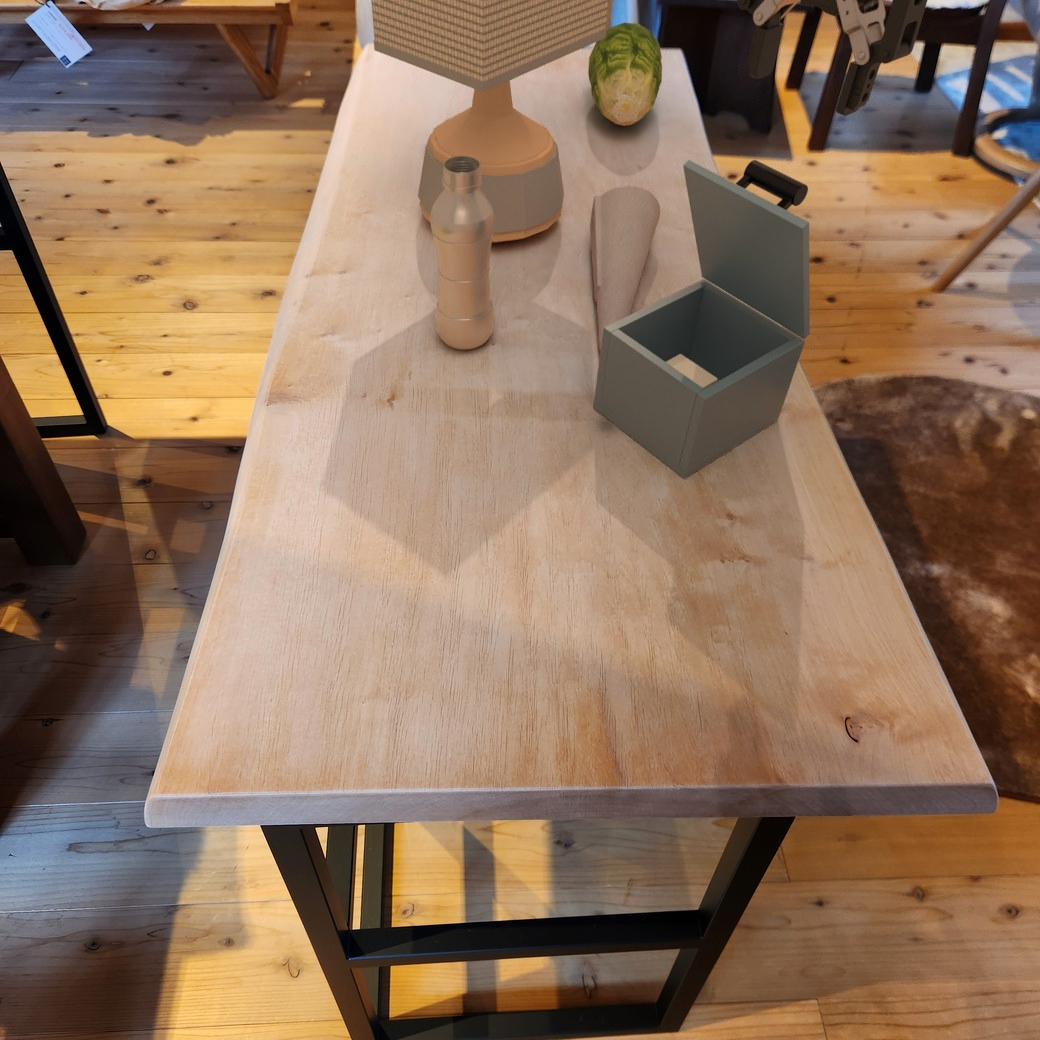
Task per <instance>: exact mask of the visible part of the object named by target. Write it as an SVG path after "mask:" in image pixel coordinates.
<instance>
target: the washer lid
mask: <svg viewBox="0 0 1040 1040" xmlns="http://www.w3.org/2000/svg"><path fill="white" fill-rule="evenodd" d="M682 168H683V174H684V179H685V184H686V191H687V196H688V202H689V208H690V213H691V215H690V216H691V220H692V221H691V222H692V226H693V231H694V238H695V244H696V249H697V255H698V256H697V257H698V261H699V267H700V274H701V277H702V279H705V280H706V281H708V282H709V283H711V284H713V285H714V286H716V287H718V288H719V289H721V290H723V291H724V292H726V293H727V294H729V295H731V296H732V297H734V298H736V299H737V300H739V301H741V302H742V303H744V304H745V305H747V306H749V307H750V308H752V309H754V310H755V311H757V312H759V313H760V314H762V315H763V316H765V317H767V318H768V319H770V320H772V321H773V322H775V323H777V324H778V325H780V326H782V327H783V328H785V329H786V330H788V331H790V332H791V333H793V334H795V335H796V336H797V337H799V338H801V339H803V340H805V339H806V338H807V337H809V336H810V334H811V333H810V332H811V330H810V329H811V328H810V327H811V326H810V324H811V322H810V321H811V320H810V318H811V317H810V316H811V315H810V314H811V312H810V307H811V306H810V305H811V303H810V302H811V301H810V300H811V299H810V297H811V296H810V295H811V294H810V291H811V290H810V289H811V288H810V222H809V221H808V220H806V219H804V218H802V217H800V216H799V215H797V214H794V213H792V212H790V211H788V210H789V209H790V208H791V207H792V206H794V207H798V206H800V205H801V204H802V203H803V202H804V200H805V199H806V197H807V194H808V192H809V186H808V185H807V184H805V183H804V182H801V181H799V180H797V179H795V178H793V177H791V176H789V175H788V174H785V173H783V172H781V171H779V170H777V169H774V168H773V167H772V166H769V165H767V164H765V163H763V162H761V161H759V160H758V159H752V160H751V161H750V162H749V163H748V164H747V165H746V167H745V169H744V171H743V176H742V177H741V178H740V179H739V180H738V181H736V183H735V182H733V181H731V180H729V179H727V178H725V177H723V176H722V175H720V174H717V173H716V172H714V171H712V170H710V169H708V168H706V167H704V166H703V165H701V164H699V163H696V162H695V161H692V160H691V159H688V160H687V161H686V162H684V164H683V165H682ZM750 185H752V186H755V187H757V188H759V189H761V190H763V191H765V192H766V193H768V194H770V195H773V196H774V197H776V198H778V199H780V201H779V202H778V203H777V204H775V203H773V202H772V201H769V200H768V199H766V198H764V197H761V195H758V194H756V193H754V192H752V191H750V190H749V189H747V188H748V187H749V186H750Z"/></svg>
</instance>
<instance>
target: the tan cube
mask: <svg viewBox="0 0 1040 1040" xmlns="http://www.w3.org/2000/svg"><path fill="white" fill-rule="evenodd" d="M666 363H668V364H669V365H671V366H672V367H673V368H675V369H676V370H678V371H679V372H681V373H682V374H683V375H685V376H686V377H688V378H689V379H691V380H692V381H694V382H695V383H696V384H698V385H699V386H701V387H702V388H704V389H706V388H708V387H709V386H711V385H713V384H715V383H716V382H717V381H718V378H716V377H715V376H713V375H712V374H710V373H709V372H707V371H706V370H704V369H703V368H701V367H700V366H698V365H697V364H695V363H694V362H692V361H691V360H689V359H688V358H686V357H685V356H683V355H682V354H679V355H677V356H676V357H674V358H672V359H670V360H668V361H666Z"/></svg>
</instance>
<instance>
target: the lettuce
mask: <svg viewBox="0 0 1040 1040" xmlns="http://www.w3.org/2000/svg"><path fill="white" fill-rule="evenodd" d="M662 58H663V56H662V52H661V47H660V42H659V41H658V39H657V38H656V37H655V35H654V33H653V32H652V31H651V30H650V29H648V28H647V27H645V26H643V25H642V24H639V23H635V22H623V23H620V24H616V25H614V26H611V27H609V28H608V29H607V30H606V38H604V39H602V40H600V41H597V42H595V43H594V46H593V48H592V50H591V52H590V55H589V57H588V71H587V72H588V81H589V84H590V91H591V97H592V99H593V101H594V103H595V104H596V105H595V106H596V107H597V109H598V111H599V113H600V114H601V115H603V116H604V117H605V118H606V119H607V120H609V121H610V122H612V123H614V124H615V125H618V126H623V127H624V126H631V125H634V124H635V123H638V122H639V121H640V120H642V119H643V118H645V116H646V115H647V114H648V113H649V112H650V111H651V110H652V108H653V106H655V102H656V100H657V97H658V94H659V91H660V87H661V84H662V80H663V64H662V63H663V62H662Z"/></svg>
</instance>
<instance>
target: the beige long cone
mask: <svg viewBox="0 0 1040 1040" xmlns="http://www.w3.org/2000/svg"><path fill="white" fill-rule="evenodd" d="M660 216H661V206H660V202H659V200H658V199H657V197H656V196H655V195H654V194H653V193H651V191H649V190H647V189H645V188H643V187H640V186H634V185H623V186H618V187H614V188H612V189H610V190H608V191H606V192H604V193H602V194H601V195H594V197H593V201H592V207H591V215H590V222H589V231H590V247H591V249H590V250H591V262H592V263H591V264H592V277H593V278H592V279H593V294H594V296H593V297H594V302H595V303H596V313H597V314H596V315H597V327H598V348H599V349H598V350H599V353H600V352H601V344H602V336H603V328H604V327H606V326H608V325H610V324H612V323H614V322H616V321H618V320H620V319H622V318H624V317H627V316H629V315H631V311H632V308H633V304H634V301H635V298H636V294H637V292H638V288H639V285H640V281H641V278H642V275H643V271H644V269H645V265H646V262H647V259H648V255H649V252H650V248H651V245H652V242H653V239H654V236H655V234H656V231H657V227H658V223H659V219H660Z"/></svg>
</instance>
